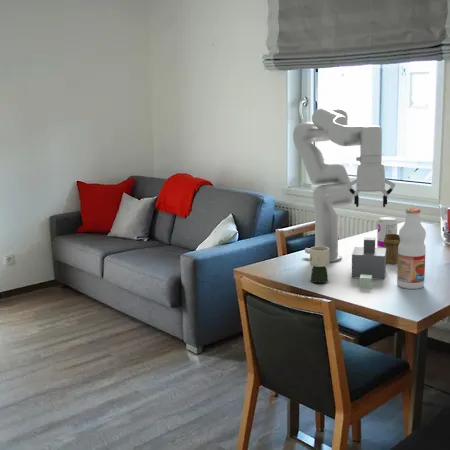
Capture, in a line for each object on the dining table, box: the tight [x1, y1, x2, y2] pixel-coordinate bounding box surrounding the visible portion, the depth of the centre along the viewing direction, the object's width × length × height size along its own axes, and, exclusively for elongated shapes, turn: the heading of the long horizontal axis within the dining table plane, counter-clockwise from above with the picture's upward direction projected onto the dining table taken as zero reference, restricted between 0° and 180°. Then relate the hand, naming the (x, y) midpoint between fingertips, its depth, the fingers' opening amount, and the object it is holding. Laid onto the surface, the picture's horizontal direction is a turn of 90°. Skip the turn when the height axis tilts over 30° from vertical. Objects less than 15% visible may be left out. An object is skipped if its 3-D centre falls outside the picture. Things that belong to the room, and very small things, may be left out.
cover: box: [351, 236, 387, 280], centre depth 232 cm, size 12×12×14 cm
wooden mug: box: [383, 233, 400, 265], centre depth 246 cm, size 9×14×18 cm, turn 60°
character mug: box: [309, 245, 330, 284], centre depth 224 cm, size 11×7×13 cm, turn 156°
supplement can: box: [376, 216, 398, 248], centre depth 263 cm, size 8×8×15 cm
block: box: [359, 274, 373, 290], centre depth 218 cm, size 4×4×4 cm
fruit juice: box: [396, 207, 427, 290], centre depth 215 cm, size 9×9×28 cm
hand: (370, 206), depth 223 cm, fingers open, 9 cm apart
